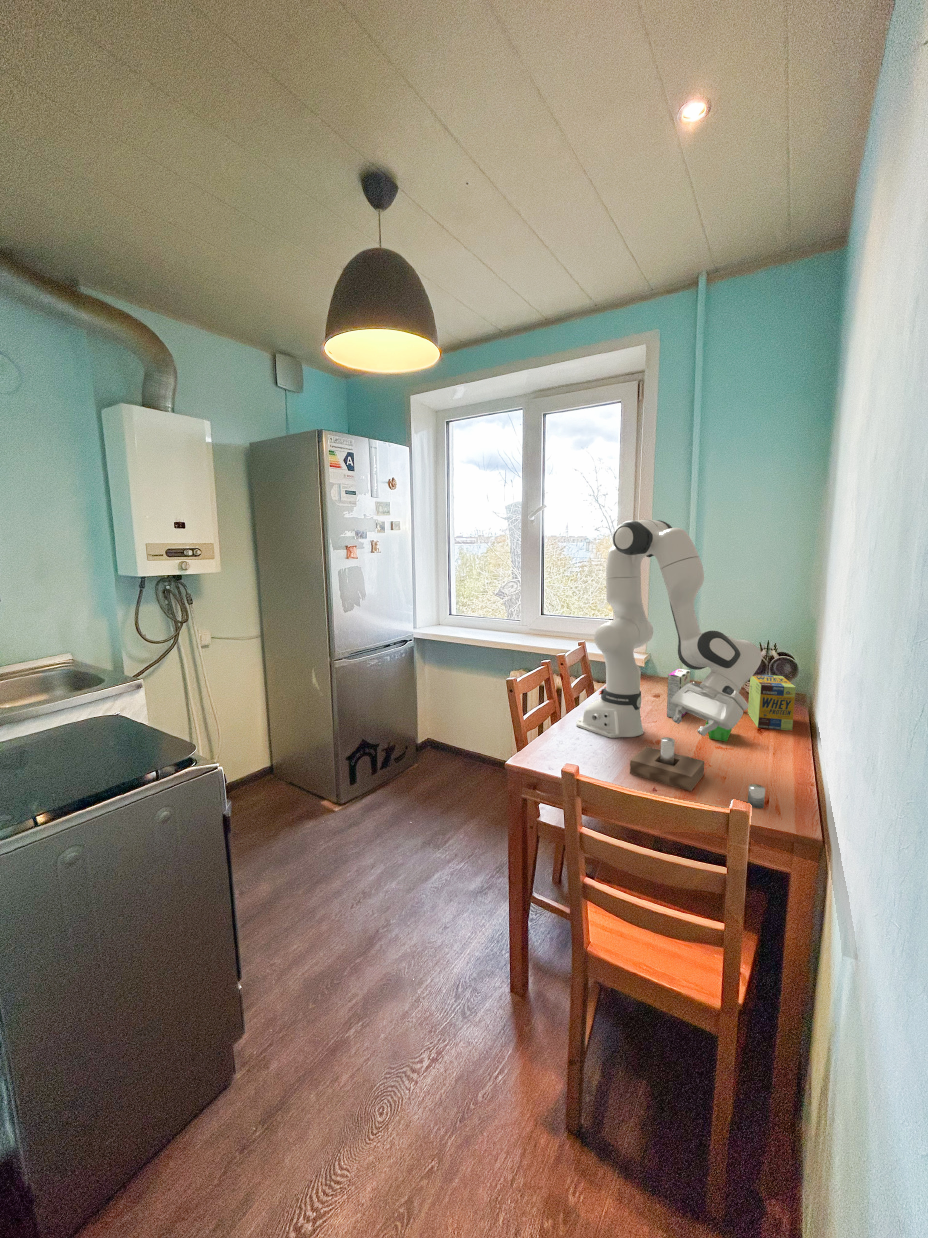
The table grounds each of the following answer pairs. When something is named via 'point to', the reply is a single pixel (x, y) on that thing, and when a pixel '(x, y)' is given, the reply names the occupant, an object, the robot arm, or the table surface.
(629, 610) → the robot arm
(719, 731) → the fruit basket
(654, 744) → the table surface
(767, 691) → the protein box
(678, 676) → the candy bar box
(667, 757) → the long pin
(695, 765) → the hole block
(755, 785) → the short pin
